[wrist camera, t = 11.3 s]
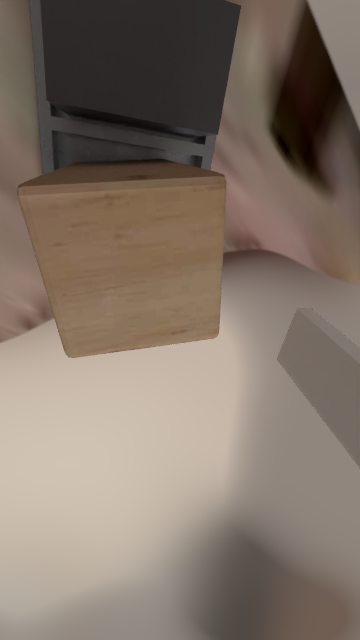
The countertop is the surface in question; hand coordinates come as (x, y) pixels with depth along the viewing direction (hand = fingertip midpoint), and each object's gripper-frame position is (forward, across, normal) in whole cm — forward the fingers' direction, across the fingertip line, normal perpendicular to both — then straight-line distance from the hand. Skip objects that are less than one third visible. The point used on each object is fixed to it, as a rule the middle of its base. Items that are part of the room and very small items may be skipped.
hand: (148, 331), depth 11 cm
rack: (+26, 0, +4) cm, 27 cm away
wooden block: (+26, 0, 0) cm, 26 cm away
